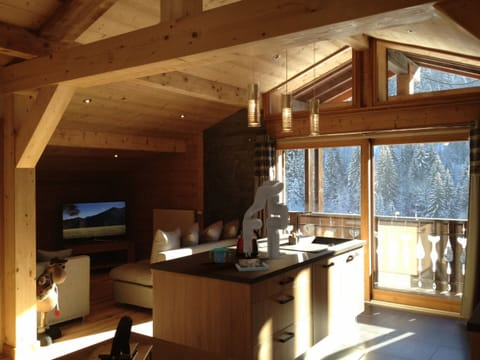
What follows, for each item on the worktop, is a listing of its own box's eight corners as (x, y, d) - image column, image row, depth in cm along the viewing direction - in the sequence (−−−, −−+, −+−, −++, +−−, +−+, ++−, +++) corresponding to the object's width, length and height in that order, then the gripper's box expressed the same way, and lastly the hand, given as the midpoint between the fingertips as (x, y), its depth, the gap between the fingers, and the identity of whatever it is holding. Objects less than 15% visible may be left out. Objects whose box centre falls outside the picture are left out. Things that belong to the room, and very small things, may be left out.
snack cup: (209, 264, 334) (209, 250, 334) (209, 261, 345) (209, 247, 345) (231, 263, 336) (231, 249, 336) (230, 260, 346) (230, 247, 346)
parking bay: (263, 265, 328) (263, 262, 328) (269, 270, 311) (269, 267, 311) (235, 266, 325) (235, 263, 325) (239, 271, 308) (239, 268, 308)
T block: (258, 264, 331) (258, 259, 331) (262, 268, 318) (262, 262, 318) (239, 265, 329) (239, 259, 329) (242, 269, 315) (242, 263, 315)
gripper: (241, 235, 339) (241, 260, 339) (244, 238, 324) (244, 264, 324) (251, 235, 340) (251, 260, 340) (255, 238, 325) (255, 264, 325)
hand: (248, 262), depth 332 cm, fingers closed
